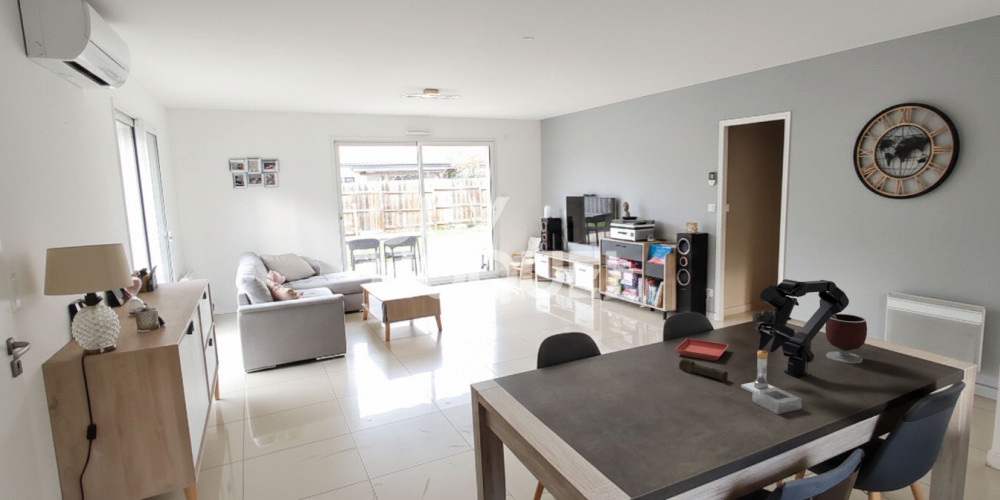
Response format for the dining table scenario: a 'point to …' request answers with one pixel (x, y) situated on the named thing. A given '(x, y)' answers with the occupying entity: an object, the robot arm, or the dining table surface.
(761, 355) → the silver metal peg
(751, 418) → the dining table surface
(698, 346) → the plant saucer
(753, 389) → the rubber mat
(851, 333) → the mate gourd
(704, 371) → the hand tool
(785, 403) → the block
